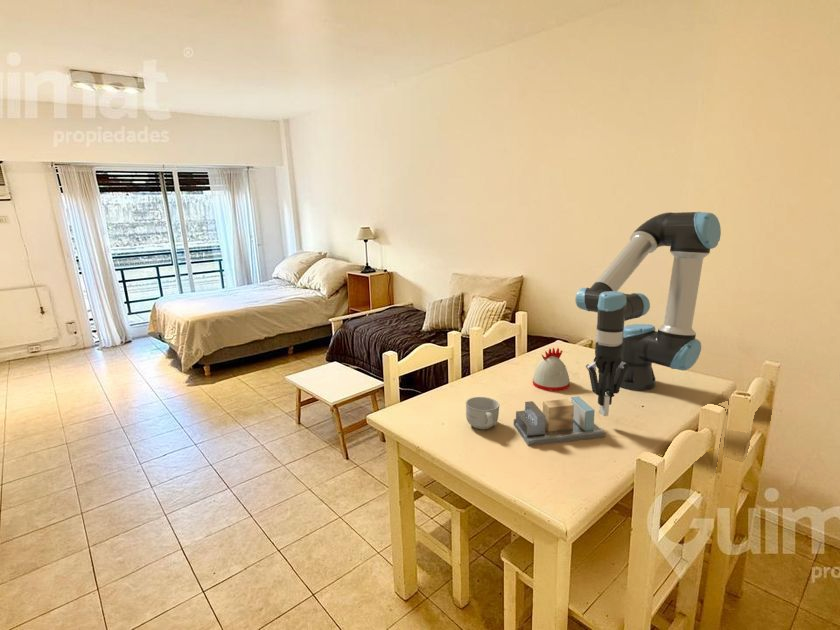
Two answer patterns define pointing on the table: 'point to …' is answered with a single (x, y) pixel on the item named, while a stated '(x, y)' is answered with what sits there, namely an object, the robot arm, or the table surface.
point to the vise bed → (562, 435)
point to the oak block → (558, 414)
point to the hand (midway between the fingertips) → (603, 413)
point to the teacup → (482, 412)
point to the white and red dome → (551, 373)
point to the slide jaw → (583, 414)
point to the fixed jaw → (531, 420)
